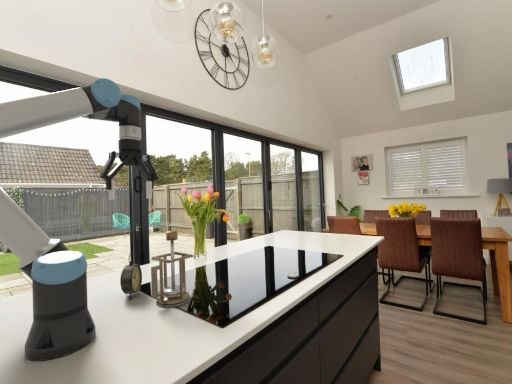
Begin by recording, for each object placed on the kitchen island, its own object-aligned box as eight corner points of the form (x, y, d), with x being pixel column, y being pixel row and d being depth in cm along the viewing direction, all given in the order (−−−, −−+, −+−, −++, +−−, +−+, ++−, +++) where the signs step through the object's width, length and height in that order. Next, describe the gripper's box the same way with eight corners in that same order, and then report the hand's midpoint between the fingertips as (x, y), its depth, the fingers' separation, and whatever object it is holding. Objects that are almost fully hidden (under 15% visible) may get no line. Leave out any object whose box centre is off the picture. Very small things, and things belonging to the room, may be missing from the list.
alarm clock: (133, 300, 98) (131, 256, 98) (118, 301, 98) (116, 257, 98) (143, 290, 109) (142, 250, 109) (129, 290, 109) (128, 251, 109)
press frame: (164, 312, 87) (162, 262, 87) (144, 304, 94) (143, 258, 94) (197, 298, 98) (196, 254, 98) (177, 292, 105) (176, 251, 105)
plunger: (170, 297, 91) (168, 233, 92) (158, 292, 96) (156, 232, 96) (188, 290, 97) (186, 230, 98) (175, 286, 102) (174, 229, 102)
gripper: (96, 132, 83) (98, 200, 82) (166, 143, 102) (168, 197, 102) (87, 136, 87) (88, 200, 87) (155, 145, 107) (157, 198, 107)
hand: (131, 199), depth 94 cm, fingers open, 13 cm apart
